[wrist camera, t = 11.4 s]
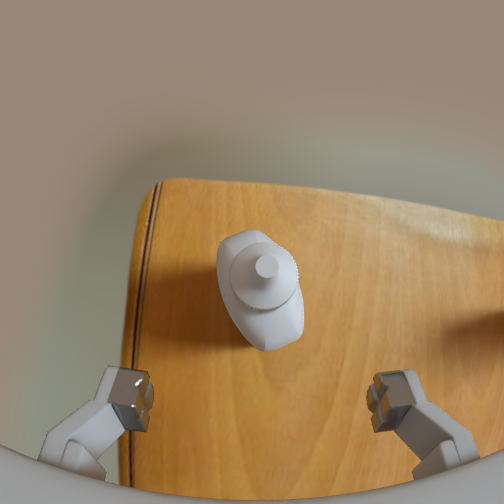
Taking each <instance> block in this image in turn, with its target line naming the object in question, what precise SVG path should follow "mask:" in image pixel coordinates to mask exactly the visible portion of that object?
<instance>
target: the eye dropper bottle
mask: <svg viewBox="0 0 504 504" xmlns="http://www.w3.org/2000/svg"><path fill="white" fill-rule="evenodd" d="M296 266H297V265H296V264H295V261H294V258H292V255H290V253H288V252H287V250H285V248H282V246H279V245H276V244H275V243H274V242H273V241H272V240H271V239H270V238H269V237H268V236H267V235H265V234H264V233H262V232H261V231H259V230H256V229H250V230H246V231H243V232H240V233H237V234H235V235H232V236H230V237H228V238H226V239H224V240H223V241H222V242H221V243H220V245H219V247H218V252H217V277H218V284H219V288H220V292H221V296H222V299H223V301H224V304H225V306H226V309H227V311H228V313H229V315H230V317H231V319H232V320H233V322H234V324H235V325H236V327H237V328H238V329H239V331H240V332H241V333H242V335H243V336H244V337H245V338H246V339H247V340H248V341H249V342H250V343H251V344H252V345H253V346H254V347H255V348H256V349H258V350H260V351H263V352H269V351H273V350H275V349H278V348H280V347H283V346H285V345H288V344H290V343H292V342H294V341H296V340H297V339H298V338H299V337H300V336H301V334H302V332H303V327H304V307H303V299H302V294H301V289H300V286H299V283H298V280H299V278H298V276H299V275H298V271H297V269H298V268H297V267H296Z"/></svg>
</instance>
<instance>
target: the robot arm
mask: <svg viewBox="0 0 504 504" xmlns="http://www.w3.org/2000/svg"><path fill="white" fill-rule="evenodd" d="M149 378H150V376H149V373H148V371H143V370H136V369H129V368H122V367H115V366H108V367H107V368H106V369H105V371H104V374H103V376H102V379H101V382H100V384H99V387H98V389H97V392H96V395H95V397H94V400H89V401H88V402H86V403H85V404H84V405H82V406H81V407H80V408H78V409H77V410H76V411H75V412H73V413H72V414H71V415H69V416H68V417H67V418H65V419H64V420H63V421H62V422H60V423H59V424H58V425H56V426H55V427H54V428H52V429H51V430H50V431H48V433H47V435H46V438H45V440H44V443H43V446H42V448H41V451H40V454H39V457H38V459H37V460H35V459H33V458H30V457H28V456H25V455H23V454H20V453H18V452H16V451H13V450H11V449H9V448H7V447H5V446H2V445H0V504H504V449H502V450H499V451H497V452H495V453H492V454H490V455H488V456H485V457H483V458H480V456H479V453H478V450H477V448H476V445H475V442H474V440H473V437H472V435H471V432H469V431H468V430H467V429H466V428H464V427H463V426H462V425H460V424H459V423H458V422H457V421H455V420H454V419H453V418H452V417H450V416H449V415H448V414H446V413H445V412H444V411H443V410H441V409H440V408H439V407H438V406H436V405H435V404H434V403H432V402H431V401H430V402H428V401H427V398H426V396H425V393H424V391H423V388H422V386H421V384H420V381H419V379H418V377H417V374H416V372H415V370H414V369H407V370H396V371H388V372H379V373H376V374H375V375H374V377H373V381H374V383H373V384H372V385H370V386H369V388H368V390H367V396H366V400H367V406H368V409H369V410H370V411H371V412H372V413H373V415H372V417H371V422H372V426H373V430H374V433H377V432H385V431H392V430H394V432H395V433H396V434H397V435H398V436H399V437H400V438H401V439H402V440H403V441H404V442H405V443H406V445H407V446H408V447H409V448H410V449H411V450H412V451H413V452H414V453H415V454H416V455H417V456H418V457H419V458H420V459H421V462H420V463H419V464H418V465H417V466H416V467H415V468H414V469H413V471H412V473H413V477H414V480H413V481H409V482H405V483H401V484H396V485H392V486H387V487H383V488H378V489H372V490H367V491H361V492H355V493H348V494H341V495H334V496H325V497H315V498H303V499H286V500H228V499H211V498H199V497H189V496H180V495H172V494H165V493H159V492H153V491H147V490H141V489H136V488H131V487H126V486H122V485H117V484H113V483H109V482H105V477H106V471H105V469H104V468H103V467H102V466H101V465H100V464H99V463H98V462H97V459H98V458H99V457H100V456H101V455H102V454H103V453H104V452H105V451H106V450H107V449H108V448H109V447H110V446H111V445H112V444H113V443H114V442H115V441H116V440H117V439H118V438H119V437H120V436H121V435H122V434H123V433H124V432H125V429H126V430H133V431H140V432H147V429H148V424H149V420H150V416H149V414H148V411H149V410H150V409H151V408H152V407H153V402H154V388H153V385H152V384H151V383H150V382H149Z"/></svg>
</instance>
